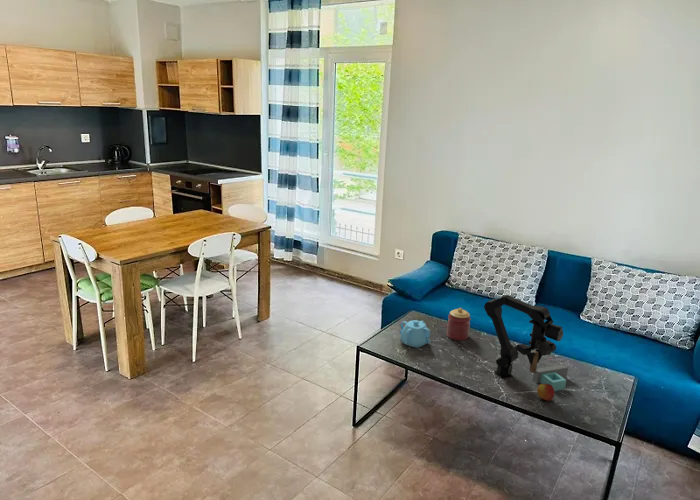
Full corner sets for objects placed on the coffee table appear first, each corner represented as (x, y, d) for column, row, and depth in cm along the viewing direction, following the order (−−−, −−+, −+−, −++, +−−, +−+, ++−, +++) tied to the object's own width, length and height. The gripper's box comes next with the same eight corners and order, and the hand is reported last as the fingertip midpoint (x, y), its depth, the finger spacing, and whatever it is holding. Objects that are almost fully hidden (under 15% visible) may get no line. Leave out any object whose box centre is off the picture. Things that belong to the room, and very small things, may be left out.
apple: (555, 399, 229) (558, 384, 227) (549, 406, 223) (552, 390, 221) (539, 392, 234) (542, 377, 231) (532, 399, 228) (535, 384, 226)
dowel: (532, 373, 235) (535, 354, 232) (528, 369, 237) (530, 351, 235) (537, 372, 236) (540, 353, 233) (533, 369, 238) (536, 350, 236)
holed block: (551, 391, 235) (552, 382, 234) (540, 383, 243) (541, 374, 241) (564, 389, 238) (566, 380, 236) (553, 380, 245) (554, 371, 244)
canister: (472, 339, 286) (476, 311, 281) (452, 341, 282) (455, 313, 277) (461, 330, 297) (464, 302, 293) (442, 332, 294) (445, 304, 289)
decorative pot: (398, 336, 286) (399, 314, 282) (425, 336, 287) (427, 315, 283) (402, 349, 271) (403, 327, 267) (431, 350, 271) (432, 327, 268)
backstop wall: (536, 383, 242) (538, 372, 240) (532, 380, 245) (534, 369, 243) (566, 378, 248) (568, 367, 246) (562, 375, 250) (563, 364, 249)
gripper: (533, 343, 221) (528, 374, 225) (566, 338, 227) (561, 369, 231) (517, 333, 231) (513, 362, 235) (550, 328, 237) (545, 358, 241)
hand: (533, 363), depth 235 cm, fingers closed on dowel, 3 cm apart
